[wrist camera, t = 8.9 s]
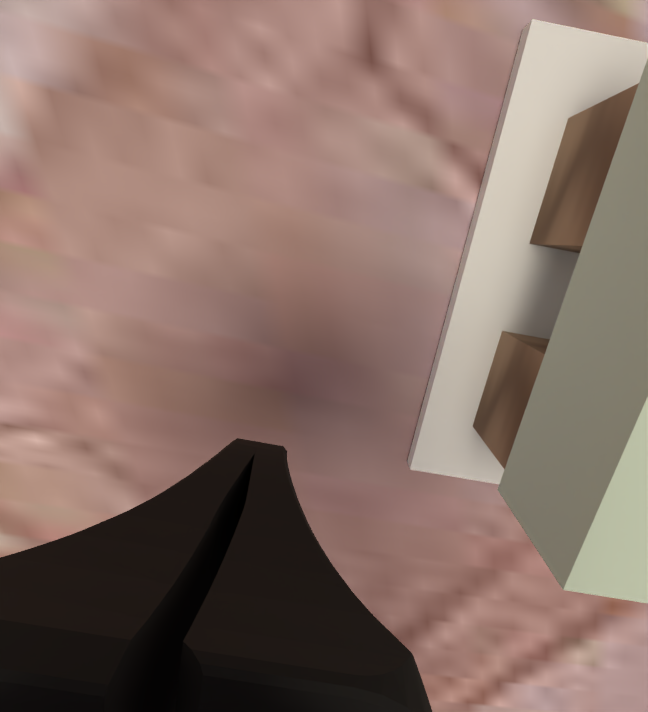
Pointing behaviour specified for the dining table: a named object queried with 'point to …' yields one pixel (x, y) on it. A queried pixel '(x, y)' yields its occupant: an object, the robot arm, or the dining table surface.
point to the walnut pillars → (560, 231)
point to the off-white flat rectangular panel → (514, 236)
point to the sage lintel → (595, 398)
